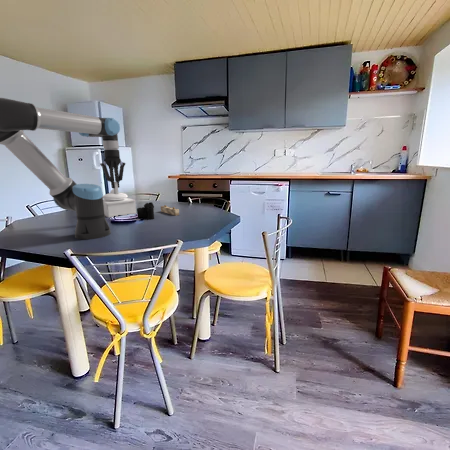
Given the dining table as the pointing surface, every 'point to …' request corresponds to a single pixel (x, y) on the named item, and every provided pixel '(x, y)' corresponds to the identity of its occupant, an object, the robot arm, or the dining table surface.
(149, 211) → the film camera
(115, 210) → the white lidded box
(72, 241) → the dining table surface
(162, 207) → the oak ledge rail
